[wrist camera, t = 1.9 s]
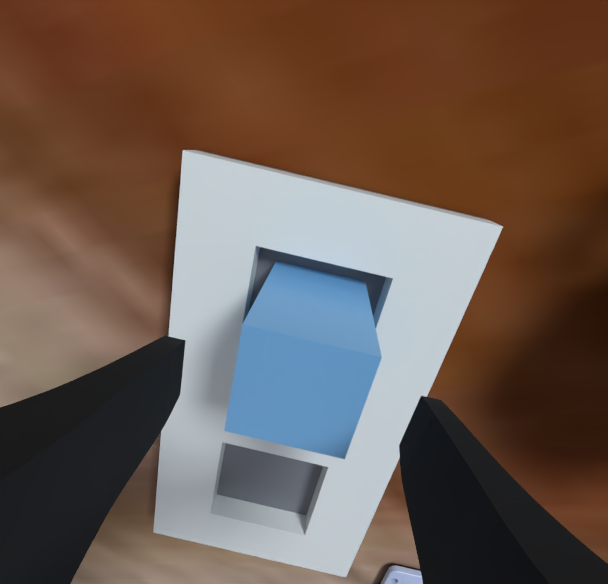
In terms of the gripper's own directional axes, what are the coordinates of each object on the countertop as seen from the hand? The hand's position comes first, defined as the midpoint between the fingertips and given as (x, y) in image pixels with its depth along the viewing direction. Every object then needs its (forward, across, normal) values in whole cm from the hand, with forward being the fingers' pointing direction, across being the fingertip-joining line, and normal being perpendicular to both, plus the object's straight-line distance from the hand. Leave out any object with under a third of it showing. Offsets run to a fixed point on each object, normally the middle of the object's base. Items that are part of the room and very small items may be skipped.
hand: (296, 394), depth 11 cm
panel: (+6, 0, +5) cm, 8 cm away
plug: (+6, 0, 0) cm, 6 cm away
